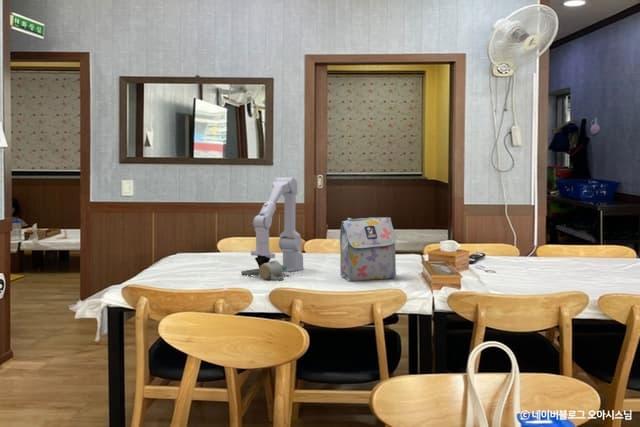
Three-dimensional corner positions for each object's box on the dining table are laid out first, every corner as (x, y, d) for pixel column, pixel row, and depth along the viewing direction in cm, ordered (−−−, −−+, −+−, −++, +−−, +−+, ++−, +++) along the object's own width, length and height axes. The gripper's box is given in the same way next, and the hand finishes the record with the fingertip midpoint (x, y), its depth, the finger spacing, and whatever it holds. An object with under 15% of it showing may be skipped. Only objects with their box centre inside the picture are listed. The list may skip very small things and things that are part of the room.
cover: (267, 267, 328) (267, 262, 328) (276, 266, 330) (276, 261, 330) (280, 272, 314) (280, 267, 314) (290, 271, 316) (290, 266, 316)
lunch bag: (348, 283, 297) (348, 220, 295) (337, 276, 313) (336, 217, 311) (398, 280, 303) (398, 218, 301) (384, 274, 319) (384, 215, 317)
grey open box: (270, 270, 331) (270, 266, 331) (278, 272, 327) (278, 268, 327) (241, 274, 320) (241, 271, 320) (249, 276, 315) (249, 272, 315)
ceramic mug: (257, 279, 307) (257, 261, 307) (270, 276, 314) (270, 259, 313) (275, 282, 301) (275, 264, 300) (288, 279, 307) (288, 262, 306)
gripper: (245, 241, 314) (245, 272, 315) (265, 244, 303) (266, 275, 304) (257, 240, 319) (258, 270, 320) (278, 243, 308) (278, 274, 309)
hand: (263, 273), depth 312 cm, fingers closed
